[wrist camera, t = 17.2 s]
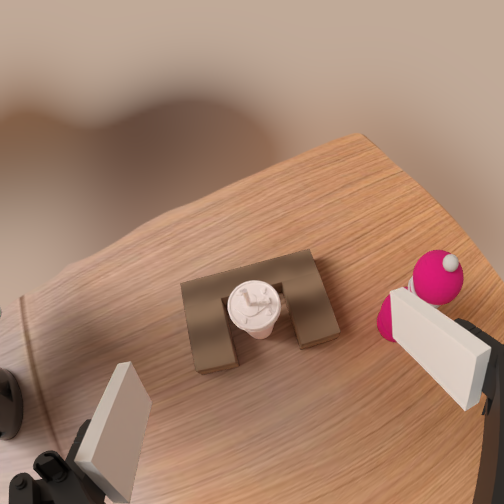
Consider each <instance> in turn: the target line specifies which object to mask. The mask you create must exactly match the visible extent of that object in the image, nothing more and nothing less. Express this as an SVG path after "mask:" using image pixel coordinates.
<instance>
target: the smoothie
mask: <svg viewBox="0 0 504 504" xmlns="http://www.w3.org/2000/svg"><path fill="white" fill-rule="evenodd" d="M280 311H281V301H280V298H279V295H278V293H277V291H276V290H275V289H274V288H273V287H272V286H271V285H269V284H268V283H266V282H263V281H257V280H252V281H247V282H244V283H242V284H240V285H239V286H237V287H236V288H235V289H234V290H233V291H232V293H231V295H230V297H229V299H228V312H229V315H230V318H231V320H232V321H233V323H234V324H235V325H236V326H237V327H239V328H240V329H242V330H245V331H246V332H247V333H249V334H250V335H251V336H252V337H253V338H255V339H264V338H266V337H268V336H269V335H270V334H271V332H272V329H273V326H274V323H275V322H276V321H277V319H278V317H279V315H280Z"/></svg>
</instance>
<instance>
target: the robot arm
mask: <svg viewBox="0 0 504 504" xmlns="http://www.w3.org/2000/svg"><path fill="white" fill-rule="evenodd" d="M390 298H391V313H392V333H393V338H394V339H395V340H396V341H397V342H398V343H399V344H400V345H401V346H402V347H403V348H404V349H405V350H406V351H407V352H408V353H409V354H410V355H411V356H412V357H413V358H414V359H415V360H416V361H417V362H418V363H419V364H420V365H421V366H422V367H423V368H424V369H425V370H426V371H427V372H428V373H429V374H430V375H431V376H432V377H433V378H434V379H435V380H436V382H437V383H438V384H439V385H440V386H441V387H442V388H443V389H444V390H445V391H446V392H447V393H448V394H449V395H450V396H451V397H452V398H453V399H454V400H455V401H456V402H457V403H458V404H459V405H460V406H461V408H462V409H463V410H464V411H466V410H468V409H470V408H471V407H473V406H474V405H476V404H477V403H479V400H480V397H481V393H482V392H483V393H484V394H485V395H486V396H487V399H486V402H485V406H484V409H483V412H482V415H484V414H485V421H484V434H483V444H482V452H481V460H480V467H479V473H478V479H477V484H476V489H475V494H474V499H473V503H472V504H504V345H503V344H501V343H500V342H498V341H497V340H495V339H494V338H492V337H491V336H490V335H488V334H487V333H485V332H484V331H483V332H482V330H481V329H479V328H478V327H477V328H476V326H475V325H473V324H472V323H470V322H469V321H466V320H462V319H459V318H458V319H456V320H454V321H453V320H452V319H450V318H449V317H447V316H446V315H444V314H443V313H441V312H440V311H438V310H437V309H435V308H434V307H432V306H431V305H429V304H428V303H426V302H425V301H423V300H422V299H420V298H419V297H417V296H416V295H414V294H413V293H411V292H410V291H408V290H407V289H405V288H404V287H401V288H398V289H395V290H392V291H390ZM0 317H1V308H0ZM151 406H152V401H151V399H150V397H149V395H148V394H147V392H146V390H145V388H144V386H143V384H142V382H141V380H140V378H139V376H138V374H137V372H136V370H135V368H134V366H133V364H132V362H131V361H129V362H124V363H118V364H117V366H116V368H115V370H114V372H113V375H112V377H111V379H110V381H109V383H108V385H107V387H106V389H105V391H104V394H103V396H102V398H101V400H100V402H99V404H98V407H97V409H96V411H95V413H94V415H93V418H92V419H89V420H86V421H85V423H84V424H83V425H82V426H81V427H80V429H79V431H78V433H77V437H76V438H75V440H74V444H72V446H71V449H70V451H69V453H68V456H67V458H66V460H65V461H64V460H63V459H62V457H61V456H60V455H59V454H58V453H57V452H55V451H46V452H43V453H42V454H40V455H39V456H38V457H37V458H36V459H35V461H34V464H33V469H34V470H35V471H36V472H37V473H38V474H39V475H40V477H41V478H42V479H40V480H34V479H33V478H32V477H31V476H30V475H29V474H28V473H20V474H17V475H16V476H14V477H13V479H12V480H11V482H10V486H9V504H106V503H105V502H104V499H105V495H106V496H107V497H108V498H109V499H110V500H111V501H112V502H115V503H130V500H131V495H132V490H133V485H134V480H135V475H136V470H137V466H138V461H139V457H140V452H141V448H142V443H143V439H144V435H145V431H146V426H147V422H148V418H149V414H150V410H151ZM22 415H23V404H22V396H21V392H20V389H19V386H18V384H17V381H16V380H15V378H14V377H13V375H12V374H11V373H10V372H9V371H7V370H5V369H2V368H0V439H2V440H8V439H11V438H13V437H14V436H15V435H16V433H17V432H18V430H19V428H20V425H21V421H22Z"/></svg>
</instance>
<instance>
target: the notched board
mask: <svg viewBox="0 0 504 504" xmlns="http://www.w3.org/2000/svg"><path fill="white" fill-rule="evenodd" d="M252 280H257V281H263V282H266V283H268V284H269V285H271V286H272V287H273V288H274V289H275V290H276V291H277V293H278V292H283V295H284V298H285V301H286V305H287V308H288V311H289V314H290V317H291V320H292V324H293V327H294V330H295V333H296V336H297V340H298V343H299V346H300V349H305V348H308V347H311V346H314V345H318V344H321V343H324V342H327V341H330V340H333V339H336V338H337V337H338V335H339V334H340V332H341V331H340V329H339V326H338V323H337V320H336V318H335V315H334V312H333V309H332V307H331V304H330V301H329V298H328V296H327V293H326V290H325V288H324V285H323V283H322V280H321V277H320V275H319V272H318V269H317V267H316V264H315V262H314V259H313V257H312V254H311V252H310V249H307V250H303V251H299V252H296V253H292V254H288V255H285V256H281V257H277V258H274V259H270V260H266V261H262V262H259V263H255V264H251V265H248V266H244V267H240V268H236V269H233V270H229V271H225V272H221V273H218V274H214V275H210V276H206V277H202V278H199V279H195V280H191V281H187V282H183V283H180V284H181V291H182V297H183V304H184V310H185V316H186V322H187V327H188V333H189V339H190V344H191V349H192V355H193V360H194V365H195V370H196V372H198V373H200V374H202V375H204V374H208V373H213V372H217V371H222V370H226V369H230V368H234V367H239V363H238V359H237V355H236V351H235V347H234V343H233V338H232V334H231V330H230V326H229V321H228V317H227V313H226V308H225V307H226V306H228V299H229V297H230V295H231V293H232V291H233V290H234V289H235V288H236V287H237V286H239V285H240V284H242V283H244V282H247V281H252Z"/></svg>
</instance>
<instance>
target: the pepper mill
mask: <svg viewBox="0 0 504 504" xmlns="http://www.w3.org/2000/svg"><path fill="white" fill-rule="evenodd" d="M462 285H463V270H462V267H461V265H460V263H459V261H458V258H457V257H456V256H455V255H453V254H451V253H449V252H446V251H443V250H433V251H430V252H427V253H426V254H424V255H423V256H422V257H421V258H420V259H419V260H418V262H417V263H416V265H415V268H414V271H413V276H412V277H411V279H410V281H409V283H408V287H404V288H405V289H407V290H408V291H410V292H411V293H413V294H414V295H416V296H417V297H419V298H420V299H422V300H423V301H425V302H426V303H428V304H429V305H431V306H432V307H434V308H435V309H437V308H438V307H439V306H440V305H444V304H447V303H449V302H451V301H452V300H453V299H454V298H455V297H456V296H457V295H458V294H459V292H460V290H461V288H462ZM377 327H378V330H379V332H380V334H381V335H382V336H383V337H384V338H385V339H387V340H388V341H391V342H397V341H396V340H395V339H394V338H393V333H392V313H391V298H390V294H389V295H388V296H387V297H386V298H385V300H384V302H383V304H382V307H381V310H380V312H379V314H378V317H377Z"/></svg>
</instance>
